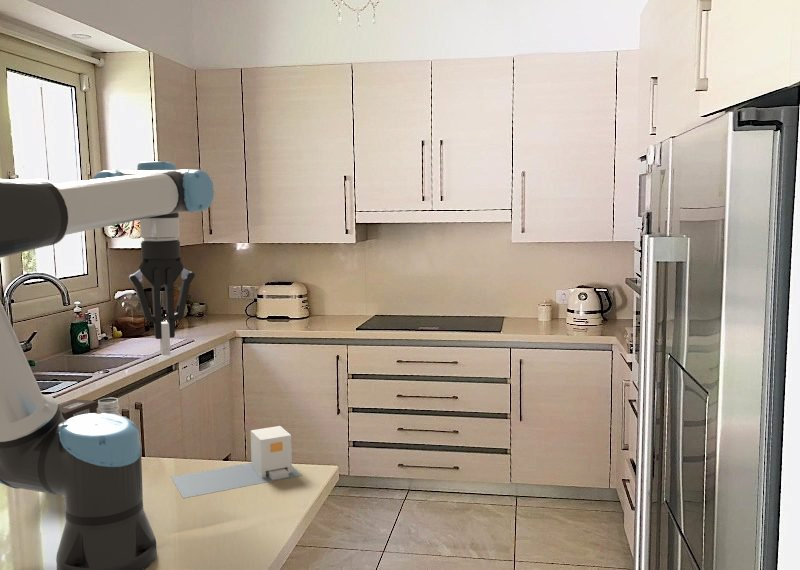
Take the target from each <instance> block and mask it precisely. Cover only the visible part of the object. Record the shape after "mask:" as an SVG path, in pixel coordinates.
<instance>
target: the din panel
mask: <svg viewBox="0 0 800 570" xmlns="http://www.w3.org/2000/svg"><path fill="white" fill-rule="evenodd" d="M302 476H303V474H302V473H300V472H299V471H298V470H297V469H296V468H295V467H294V466H293V465H292V472H291V473H289V472H288V471H287V470H286V469H285V468H280V469H275V470H269V471H266V477H265V478H261V477H260V476H259V475H258V473H257V472H256V471H255V470H254V469H253V468H252V462H248V463H243V464H236V465H231V466H224V467H220V468H214V469H213V468H212V469H209V470H204V471H203V470H202V471H198V472H197V471H196V472H191V473H186V474H181V475H174V476H171V477H170V478H171V480H172V482H173V484H174V486H175V487H176V489H177V490H178V492H179V493H180V495H181V497H182V498H183V499H188V498H192V497H198V496H202V495H208V494H213V493H218V492H222V491H223V492H224V491H229V490H234V489H239V488H245V487H249V486H250V487H251V486H254V485H255V486H256V485H259V484H265V483H270V482H276V481H281V480H285V479H291V478H297V477H302Z"/></svg>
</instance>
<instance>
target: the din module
mask: <svg viewBox="0 0 800 570" xmlns="http://www.w3.org/2000/svg"><path fill="white" fill-rule="evenodd" d="M292 451H293V449H292V434H290V433H289V431H287V430H286V429H284V427H282V426H281V425H278V426H271V427H264V428H258V429H251V430H250V457H251V458H250V459H251V461H250V463H252V468H253V469H254V470H255V471H256V472H257V473H258V475H259V476H260V477H261V478H265V477H266V471H269V470H275V469H280V468H285V469H286V470H287V471H288V472H289V473H291V472H292V466H293V464H292V463H293V460H292V459H293V455H292Z"/></svg>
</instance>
